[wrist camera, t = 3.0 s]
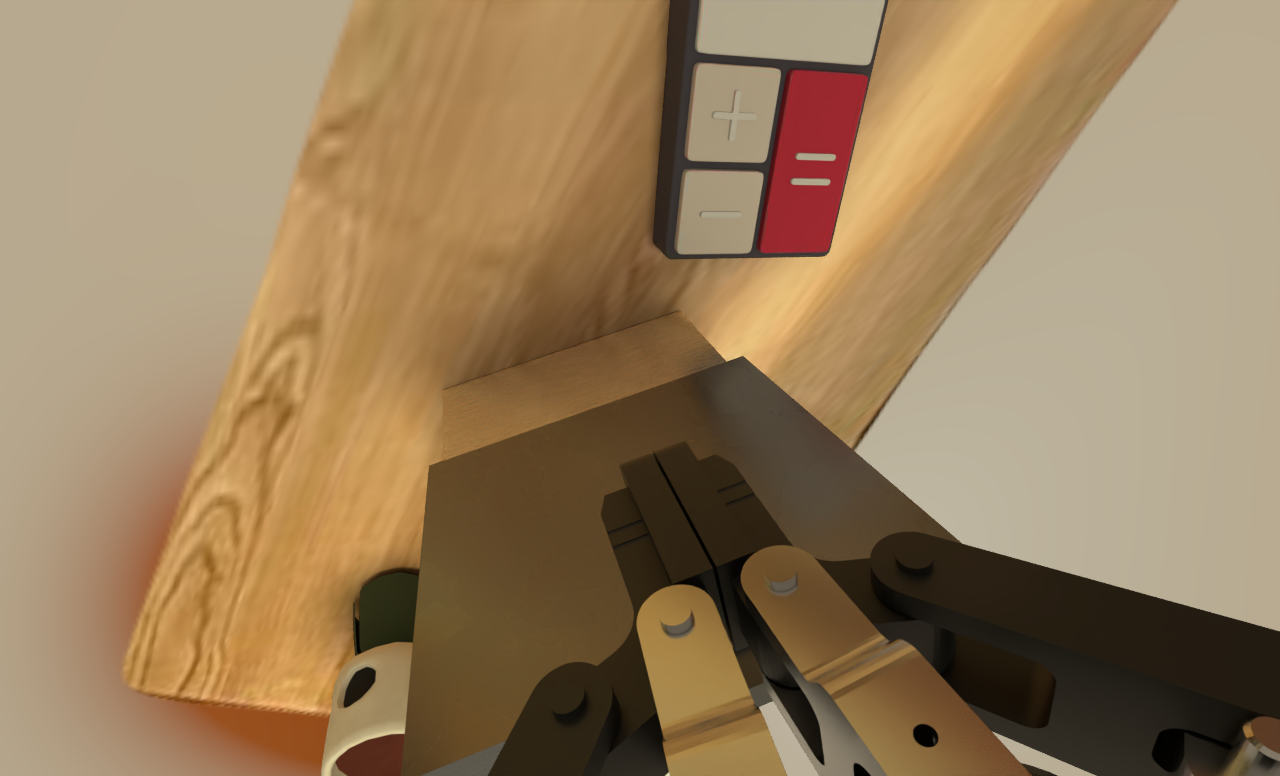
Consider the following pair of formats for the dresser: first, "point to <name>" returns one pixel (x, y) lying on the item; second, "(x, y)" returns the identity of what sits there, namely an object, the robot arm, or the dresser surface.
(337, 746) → the character mug
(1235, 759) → the robot arm
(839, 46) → the calculator
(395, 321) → the dresser surface
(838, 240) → the dresser surface
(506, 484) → the lid
